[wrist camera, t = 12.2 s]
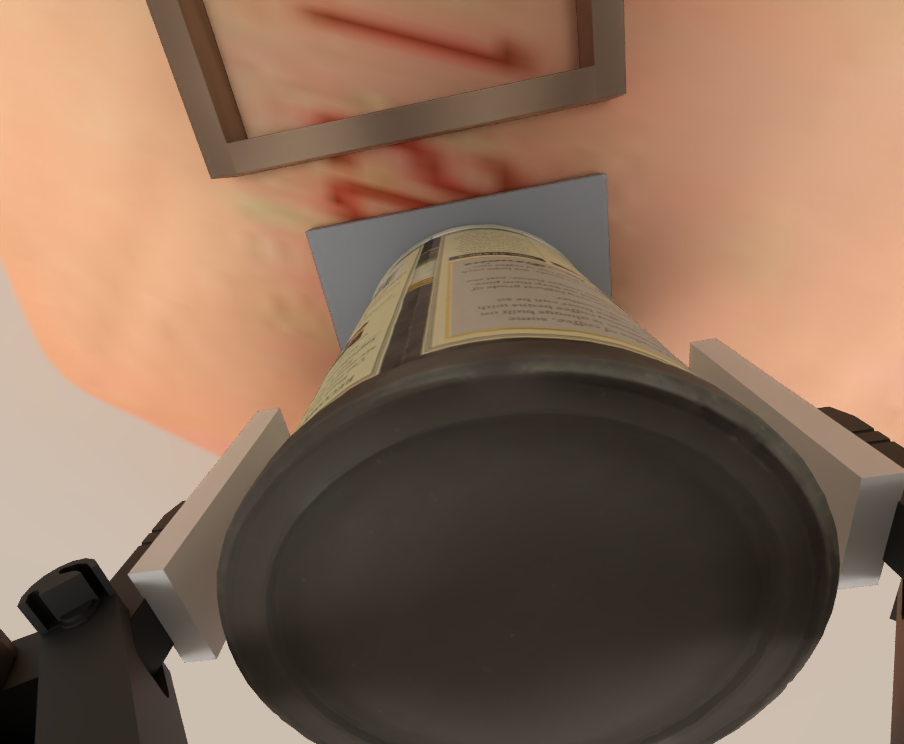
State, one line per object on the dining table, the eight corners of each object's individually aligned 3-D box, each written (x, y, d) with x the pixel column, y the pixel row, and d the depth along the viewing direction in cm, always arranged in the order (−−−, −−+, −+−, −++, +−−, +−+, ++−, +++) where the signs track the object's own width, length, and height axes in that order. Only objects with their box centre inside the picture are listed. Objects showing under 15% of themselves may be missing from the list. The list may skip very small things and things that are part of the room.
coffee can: (568, 452, 23) (708, 819, 10) (359, 427, 23) (232, 779, 10) (628, 239, 19) (997, 413, 6) (373, 203, 18) (178, 307, 5)
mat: (598, 173, 19) (605, 173, 18) (611, 426, 24) (617, 437, 23) (312, 228, 20) (305, 231, 19) (380, 460, 25) (377, 472, 24)
